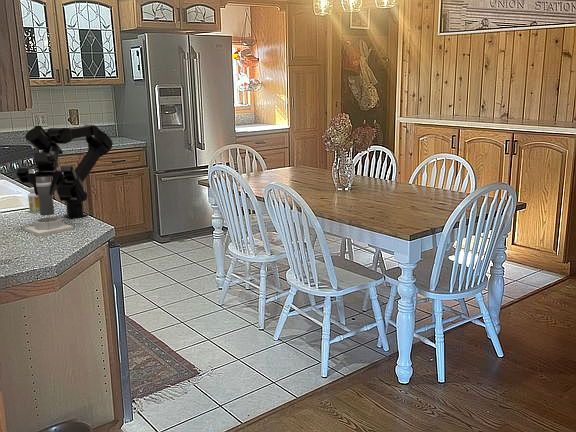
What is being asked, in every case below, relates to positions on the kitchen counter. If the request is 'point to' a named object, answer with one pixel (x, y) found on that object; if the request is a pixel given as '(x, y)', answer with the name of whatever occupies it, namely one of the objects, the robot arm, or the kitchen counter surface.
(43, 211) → the dark grey capped cylinder
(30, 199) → the supplement bottle
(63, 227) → the collar mount
